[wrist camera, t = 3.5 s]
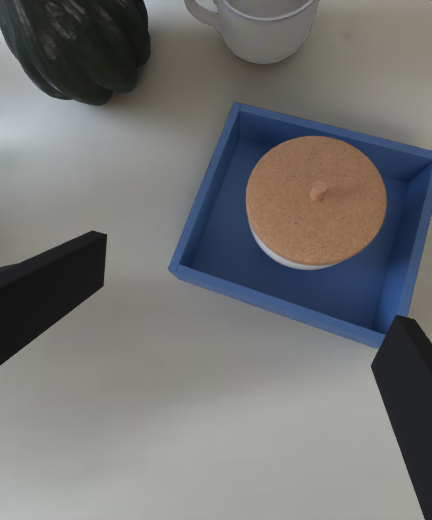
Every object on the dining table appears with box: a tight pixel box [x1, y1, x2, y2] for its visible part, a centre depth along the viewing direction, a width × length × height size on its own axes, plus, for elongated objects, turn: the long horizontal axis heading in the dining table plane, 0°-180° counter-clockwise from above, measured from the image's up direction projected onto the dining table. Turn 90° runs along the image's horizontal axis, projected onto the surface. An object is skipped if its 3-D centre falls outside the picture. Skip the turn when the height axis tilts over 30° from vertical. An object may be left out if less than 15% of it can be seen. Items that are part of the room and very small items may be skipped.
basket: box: [168, 102, 432, 348], centre depth 30 cm, size 20×18×5 cm
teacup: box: [184, 0, 319, 64], centre depth 35 cm, size 14×11×8 cm
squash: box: [0, 0, 151, 106], centre depth 33 cm, size 14×15×15 cm
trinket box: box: [246, 136, 387, 270], centre depth 28 cm, size 11×11×9 cm
